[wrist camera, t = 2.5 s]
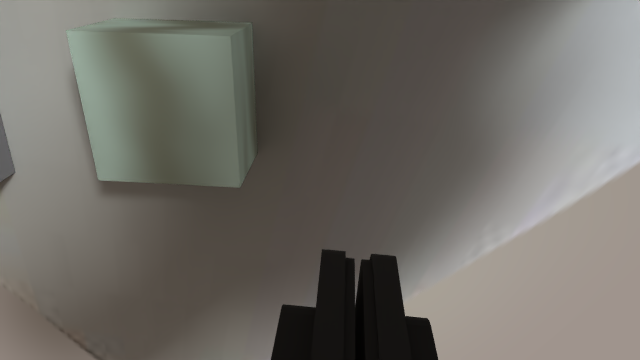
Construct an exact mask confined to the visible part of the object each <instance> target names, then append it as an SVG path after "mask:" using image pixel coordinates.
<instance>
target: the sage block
mask: <svg viewBox="0 0 640 360" xmlns="http://www.w3.org/2000/svg"><path fill="white" fill-rule="evenodd" d="M66 33H67V38H68V43H69V47H70V52H71V56H72V61H73V66H74V70H75V75H76V80H77V84H78V89H79V93H80V98H81V103H82V107H83V112H84V116H85V121H86V126H87V130H88V135H89V140H90V144H91V149H92V153H93V158H94V163H95V167H96V172H97V177H98V180H102V181H121V182H141V183H160V184H179V185H198V186H217V187H236V188H240V187H241V185H242V183H243V181H244V179H245V177H246V175H247V173H248V171H249V169H250V167H251V165H252V163H253V161H254V159H255V157H256V155H257V153H258V151H257V128H256V104H255V81H254V57H253V33H252V23H246V22H214V21H183V20H152V19H121V18H114V19H110V20H106V21H102V22H98V23H94V24H90V25H86V26H82V27H78V28H75V29H71V30H67V31H66Z"/></svg>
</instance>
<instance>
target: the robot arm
mask: <svg viewBox="0 0 640 360" xmlns="http://www.w3.org/2000/svg"><path fill="white" fill-rule="evenodd" d="M345 257H346V252H345V251H335V250H324V249H322V255H321V265H320V274H319V284H318V294H317V303H316V308H315V307H304V306H294V305H284V304H283V305H282V309H281V313H280V318H279V323H278V328H277V333H276V337H275V342H274V347H273V352H272V357H271V360H438V357H437V352H436V348H435V343H434V338H433V333H432V329H431V325H430V322H429V320H428V319H427V318H419V317H409V316H405V313H404V306H403V300H402V293H401V286H400V280H399V273H398V267H397V260H396V257H395V256H389V255H378V254H371V257H370V260H363V259H362V260H361V266H360V273H359V281H358V289H357V296H356V304H355V261H354V259H352V258H345Z"/></svg>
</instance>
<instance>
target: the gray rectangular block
mask: <svg viewBox="0 0 640 360" xmlns="http://www.w3.org/2000/svg"><path fill="white" fill-rule="evenodd" d="M13 173H15V170H14V166H13V162H12V158H11V154H10V150H9V147H8V143H7V139H6V135H5V131H4V127H3V123H2V119H1V115H0V182H1V181H2V180H4V179H6V178H7V177H9V176H10V175H12V174H13Z"/></svg>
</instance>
